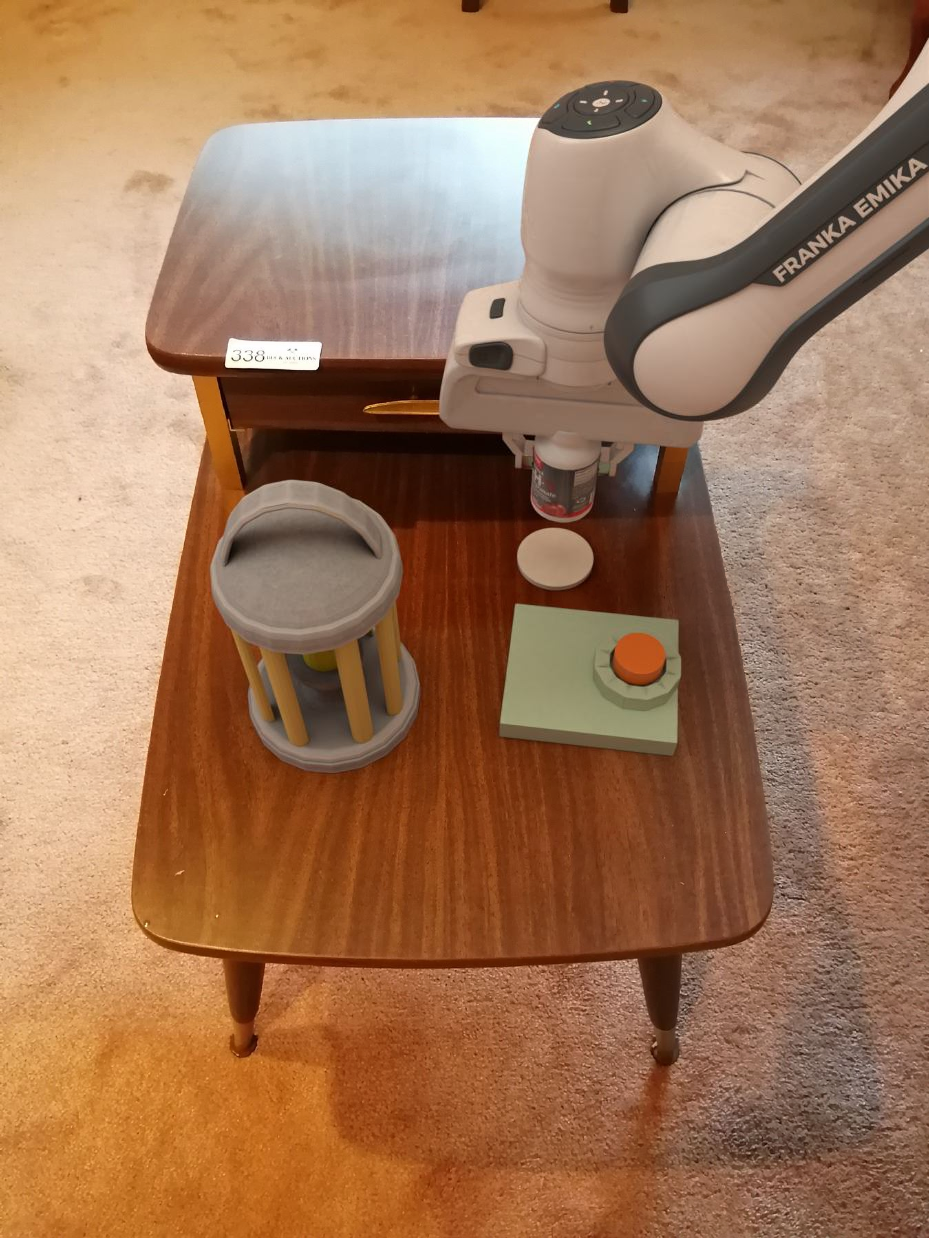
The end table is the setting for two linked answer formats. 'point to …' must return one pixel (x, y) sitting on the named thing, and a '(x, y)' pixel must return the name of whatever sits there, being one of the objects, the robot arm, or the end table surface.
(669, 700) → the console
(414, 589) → the end table surface
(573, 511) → the pill bottle
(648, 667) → the press button
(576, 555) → the coaster
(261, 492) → the lantern
